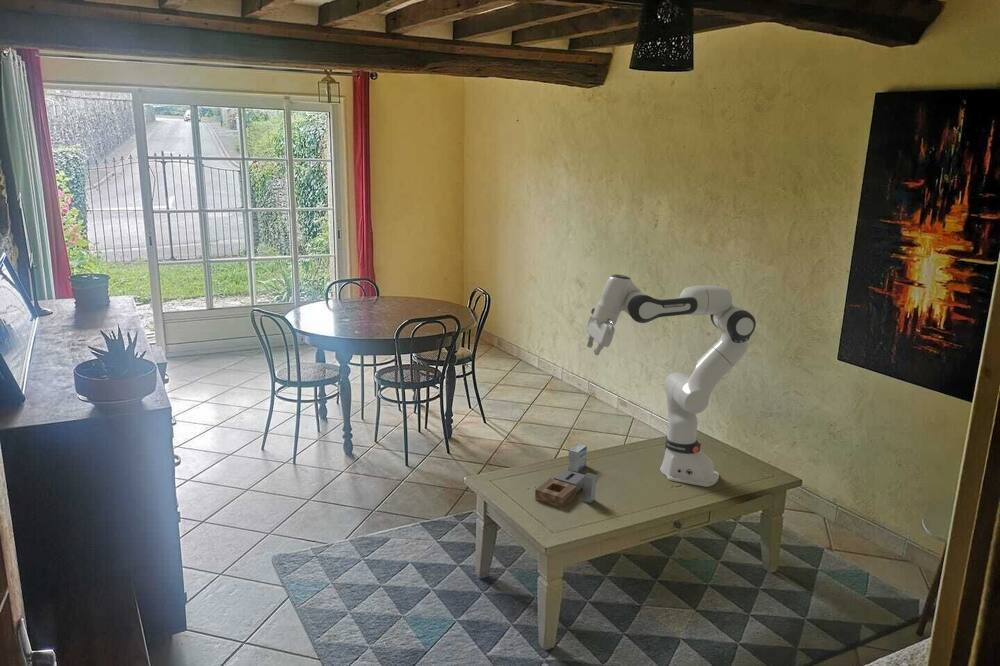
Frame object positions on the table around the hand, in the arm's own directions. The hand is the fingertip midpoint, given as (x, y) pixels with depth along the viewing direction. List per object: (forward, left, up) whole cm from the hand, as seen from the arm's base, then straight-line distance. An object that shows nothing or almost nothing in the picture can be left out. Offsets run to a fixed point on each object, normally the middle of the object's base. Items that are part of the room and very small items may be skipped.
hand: (592, 350), depth 265 cm
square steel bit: (-10, +17, -51) cm, 55 cm away
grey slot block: (+1, +11, -51) cm, 52 cm away
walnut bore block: (+1, +22, -51) cm, 56 cm away
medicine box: (+6, -5, -52) cm, 52 cm away
